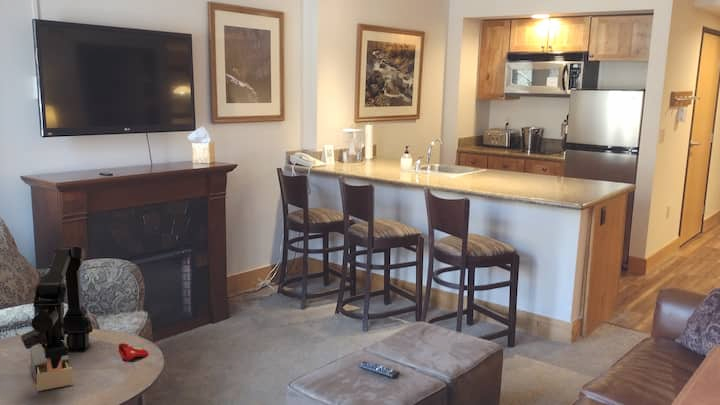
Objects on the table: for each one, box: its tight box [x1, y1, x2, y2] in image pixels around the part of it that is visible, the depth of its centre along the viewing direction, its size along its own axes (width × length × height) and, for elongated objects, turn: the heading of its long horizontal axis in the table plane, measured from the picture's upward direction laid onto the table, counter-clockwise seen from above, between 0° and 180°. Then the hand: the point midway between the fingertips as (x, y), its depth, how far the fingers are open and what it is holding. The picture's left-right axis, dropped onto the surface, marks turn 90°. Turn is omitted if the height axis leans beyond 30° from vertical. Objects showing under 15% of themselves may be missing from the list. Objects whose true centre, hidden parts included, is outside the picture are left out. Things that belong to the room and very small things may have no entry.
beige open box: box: [36, 359, 74, 392], centre depth 194 cm, size 14×10×10 cm
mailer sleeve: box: [29, 346, 70, 383], centre depth 201 cm, size 14×10×6 cm
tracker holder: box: [117, 342, 149, 362], centre depth 215 cm, size 12×4×10 cm
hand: (54, 367), depth 189 cm, fingers closed, pressing on beige open box
